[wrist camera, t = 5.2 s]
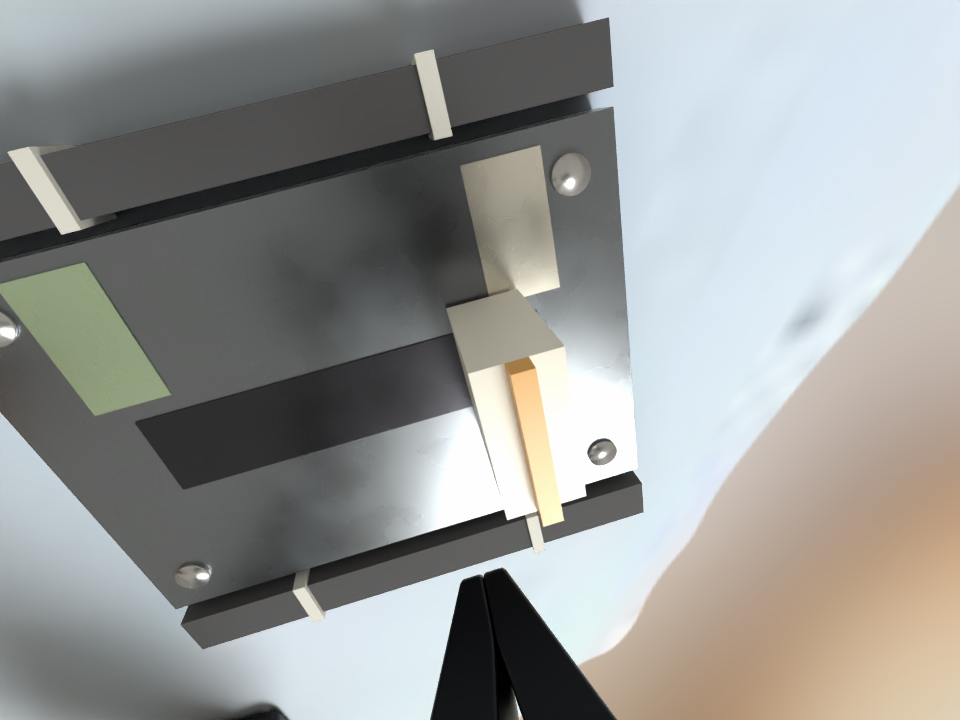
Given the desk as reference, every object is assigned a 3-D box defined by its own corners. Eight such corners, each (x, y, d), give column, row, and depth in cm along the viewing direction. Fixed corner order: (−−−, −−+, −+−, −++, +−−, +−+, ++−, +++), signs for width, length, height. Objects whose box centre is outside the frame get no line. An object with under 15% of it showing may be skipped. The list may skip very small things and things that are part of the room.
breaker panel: (621, 447, 21) (639, 470, 20) (189, 577, 20) (174, 612, 18) (592, 108, 14) (615, 106, 13) (-59, 274, 13) (-114, 291, 12)
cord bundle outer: (591, 98, 14) (617, 94, 13) (-67, 264, 13) (-130, 282, 11) (585, 21, 13) (611, 6, 12) (-126, 193, 12) (-203, 202, 11)
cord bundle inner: (625, 488, 22) (645, 518, 20) (218, 612, 21) (203, 656, 19) (622, 453, 21) (643, 483, 19) (194, 582, 20) (176, 626, 18)
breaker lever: (540, 411, 17) (594, 511, 13) (479, 429, 17) (512, 536, 13) (517, 289, 15) (573, 357, 10) (446, 308, 15) (472, 386, 10)
